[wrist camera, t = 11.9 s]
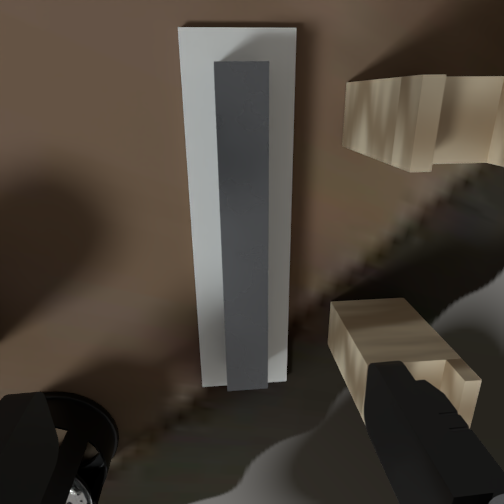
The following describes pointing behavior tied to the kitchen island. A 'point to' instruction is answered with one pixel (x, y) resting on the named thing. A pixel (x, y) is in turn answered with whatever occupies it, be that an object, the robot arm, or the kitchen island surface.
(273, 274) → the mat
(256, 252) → the rail
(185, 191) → the kitchen island surface
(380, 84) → the post
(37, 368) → the kitchen island surface
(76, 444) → the french press
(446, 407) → the robot arm
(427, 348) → the post
